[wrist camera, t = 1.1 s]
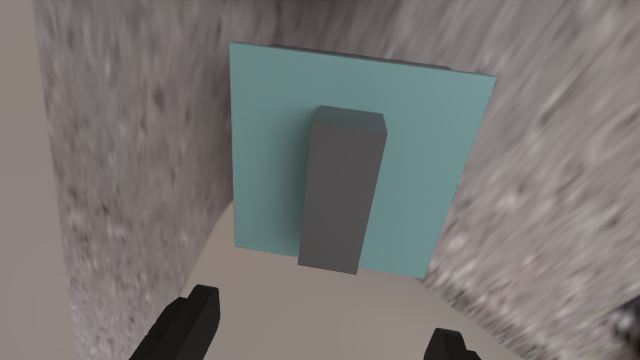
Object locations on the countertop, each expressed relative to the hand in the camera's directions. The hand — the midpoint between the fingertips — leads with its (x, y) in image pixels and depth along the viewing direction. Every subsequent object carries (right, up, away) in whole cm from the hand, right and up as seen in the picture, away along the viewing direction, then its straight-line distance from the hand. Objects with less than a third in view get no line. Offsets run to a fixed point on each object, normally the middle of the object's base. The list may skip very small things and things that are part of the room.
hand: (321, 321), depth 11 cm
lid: (+2, +6, +11) cm, 13 cm away
